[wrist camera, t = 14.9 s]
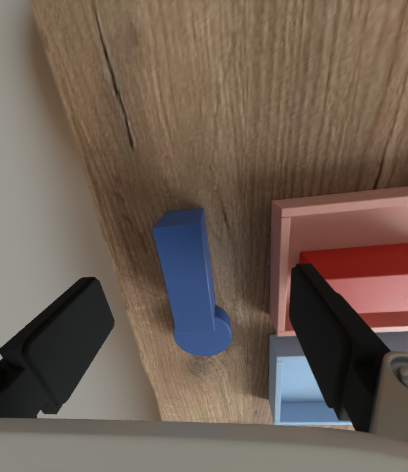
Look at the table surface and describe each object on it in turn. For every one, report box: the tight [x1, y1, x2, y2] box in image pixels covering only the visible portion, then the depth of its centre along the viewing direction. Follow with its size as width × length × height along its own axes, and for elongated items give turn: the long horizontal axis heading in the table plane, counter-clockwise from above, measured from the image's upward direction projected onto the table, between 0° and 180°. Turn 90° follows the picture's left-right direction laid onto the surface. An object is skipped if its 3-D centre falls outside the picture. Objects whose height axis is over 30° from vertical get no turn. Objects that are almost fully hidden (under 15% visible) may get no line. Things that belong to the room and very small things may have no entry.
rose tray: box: [270, 186, 408, 336], centre depth 12 cm, size 9×14×2 cm, turn 97°
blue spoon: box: [152, 208, 232, 356], centre depth 13 cm, size 12×4×3 cm, turn 7°
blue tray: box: [269, 331, 408, 425], centre depth 16 cm, size 9×14×2 cm, turn 97°
